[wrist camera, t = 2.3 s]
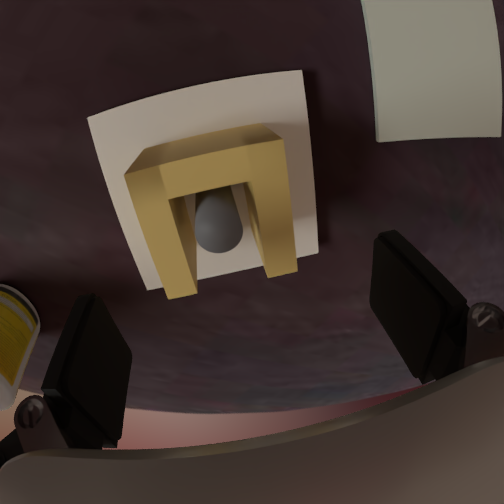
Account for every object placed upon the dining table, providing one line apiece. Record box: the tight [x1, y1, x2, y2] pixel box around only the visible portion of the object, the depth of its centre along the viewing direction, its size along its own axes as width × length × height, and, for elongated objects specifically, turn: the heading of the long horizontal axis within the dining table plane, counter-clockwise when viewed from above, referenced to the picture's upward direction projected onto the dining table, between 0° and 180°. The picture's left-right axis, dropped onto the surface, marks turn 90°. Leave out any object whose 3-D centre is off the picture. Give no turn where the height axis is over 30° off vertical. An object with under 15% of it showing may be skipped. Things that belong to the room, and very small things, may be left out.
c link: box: [124, 123, 298, 299], centre depth 15 cm, size 6×6×5 cm
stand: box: [87, 70, 318, 290], centre depth 15 cm, size 12×12×6 cm
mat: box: [361, 0, 502, 142], centre depth 15 cm, size 14×14×1 cm
